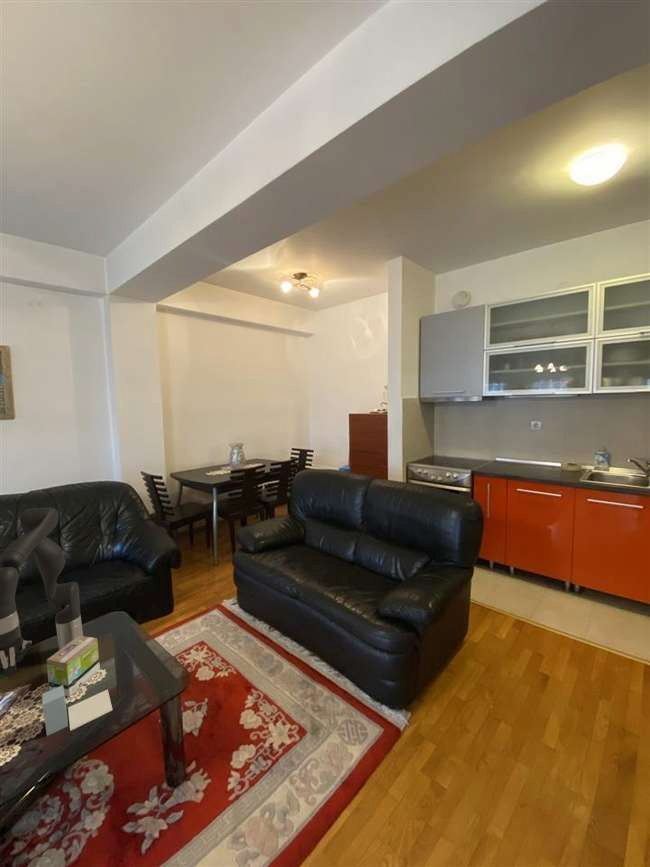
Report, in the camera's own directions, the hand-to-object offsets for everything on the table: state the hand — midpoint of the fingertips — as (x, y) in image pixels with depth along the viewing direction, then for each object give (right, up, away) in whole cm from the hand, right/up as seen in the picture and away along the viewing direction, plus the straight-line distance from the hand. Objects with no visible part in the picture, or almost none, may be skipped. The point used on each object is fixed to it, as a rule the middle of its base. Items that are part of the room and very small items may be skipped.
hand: (11, 675), depth 121 cm
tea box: (+2, -22, +29) cm, 36 cm away
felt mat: (+17, -23, +15) cm, 32 cm away
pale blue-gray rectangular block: (+9, -24, +9) cm, 27 cm away
